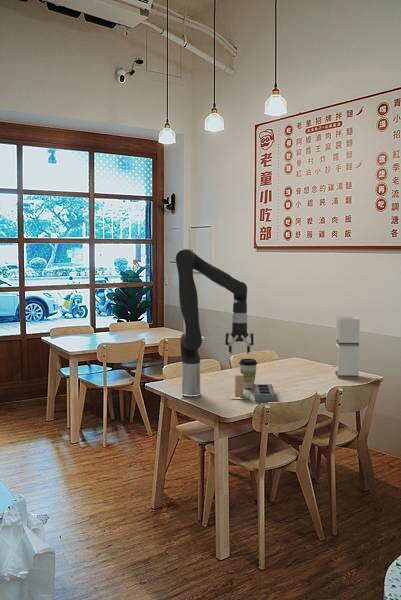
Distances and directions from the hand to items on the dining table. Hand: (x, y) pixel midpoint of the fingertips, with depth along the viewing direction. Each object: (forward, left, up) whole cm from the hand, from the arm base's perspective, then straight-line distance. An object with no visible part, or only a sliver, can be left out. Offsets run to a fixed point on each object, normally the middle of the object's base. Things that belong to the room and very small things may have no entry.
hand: (239, 353), depth 270 cm
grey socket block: (+13, 0, -23) cm, 26 cm away
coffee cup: (+6, +19, -23) cm, 30 cm away
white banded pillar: (+64, +44, -23) cm, 81 cm away
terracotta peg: (0, 0, -22) cm, 22 cm away
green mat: (0, 0, -23) cm, 23 cm away
